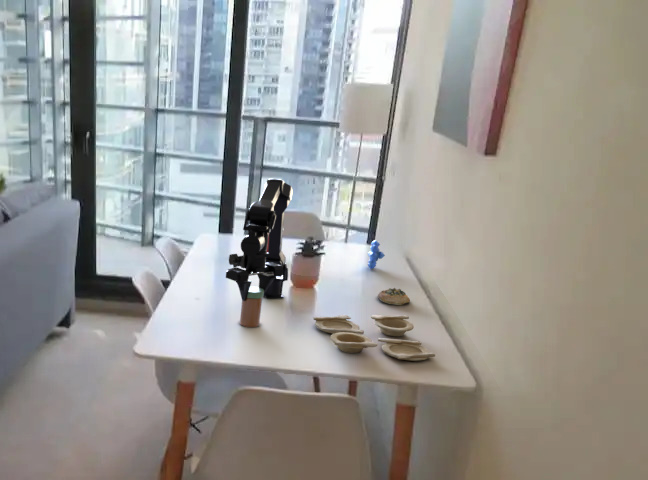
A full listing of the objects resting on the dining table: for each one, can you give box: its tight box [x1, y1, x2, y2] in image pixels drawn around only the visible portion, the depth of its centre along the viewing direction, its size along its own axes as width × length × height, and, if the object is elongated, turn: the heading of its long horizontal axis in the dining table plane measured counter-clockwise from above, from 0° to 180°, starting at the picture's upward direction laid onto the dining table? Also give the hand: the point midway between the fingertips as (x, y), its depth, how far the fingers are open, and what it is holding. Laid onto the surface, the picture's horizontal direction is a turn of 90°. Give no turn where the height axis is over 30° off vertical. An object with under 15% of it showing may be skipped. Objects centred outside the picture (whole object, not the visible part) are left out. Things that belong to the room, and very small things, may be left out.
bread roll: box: [377, 287, 411, 306], centre depth 250 cm, size 11×11×5 cm
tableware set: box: [312, 314, 436, 362], centre depth 211 cm, size 35×29×4 cm
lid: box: [247, 285, 264, 299], centre depth 217 cm, size 7×7×2 cm
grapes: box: [367, 239, 386, 270], centre depth 289 cm, size 12×7×12 cm, turn 160°
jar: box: [239, 297, 263, 328], centre depth 219 cm, size 6×6×11 cm
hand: (252, 299), depth 218 cm, fingers closed on lid, 6 cm apart
